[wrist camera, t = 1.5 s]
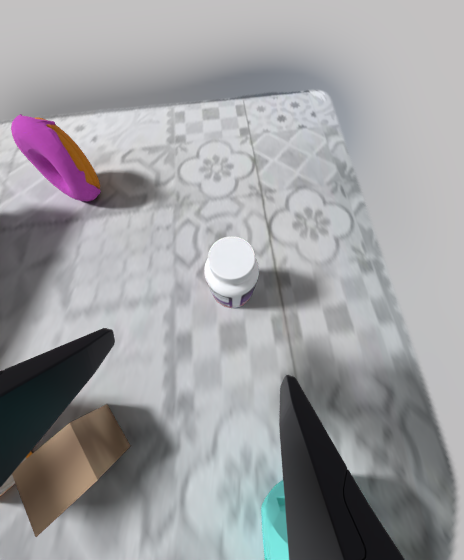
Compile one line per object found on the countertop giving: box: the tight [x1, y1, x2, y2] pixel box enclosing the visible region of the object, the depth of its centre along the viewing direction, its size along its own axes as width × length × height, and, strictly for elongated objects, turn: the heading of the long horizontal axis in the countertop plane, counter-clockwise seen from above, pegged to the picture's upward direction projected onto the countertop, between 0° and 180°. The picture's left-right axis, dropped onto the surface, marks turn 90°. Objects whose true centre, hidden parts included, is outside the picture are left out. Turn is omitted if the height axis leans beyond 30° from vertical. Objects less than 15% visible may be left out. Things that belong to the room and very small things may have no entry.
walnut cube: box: [12, 404, 130, 537], centre depth 17 cm, size 5×5×5 cm
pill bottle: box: [205, 237, 259, 308], centre depth 20 cm, size 5×5×10 cm
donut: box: [11, 114, 100, 201], centre depth 25 cm, size 8×9×10 cm
